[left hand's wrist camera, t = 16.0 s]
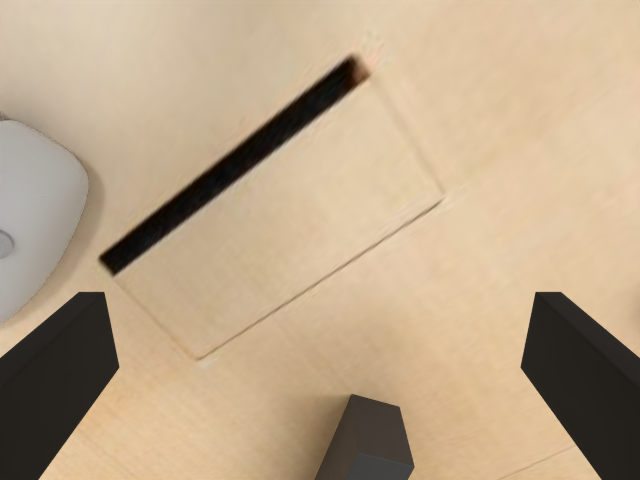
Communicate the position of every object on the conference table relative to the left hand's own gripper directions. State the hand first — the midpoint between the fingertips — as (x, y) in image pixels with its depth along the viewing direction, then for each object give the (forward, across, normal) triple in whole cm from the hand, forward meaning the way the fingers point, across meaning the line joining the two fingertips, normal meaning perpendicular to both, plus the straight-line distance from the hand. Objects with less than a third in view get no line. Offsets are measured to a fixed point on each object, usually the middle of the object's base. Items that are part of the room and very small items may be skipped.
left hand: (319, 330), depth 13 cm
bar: (+28, +2, -40) cm, 48 cm away
